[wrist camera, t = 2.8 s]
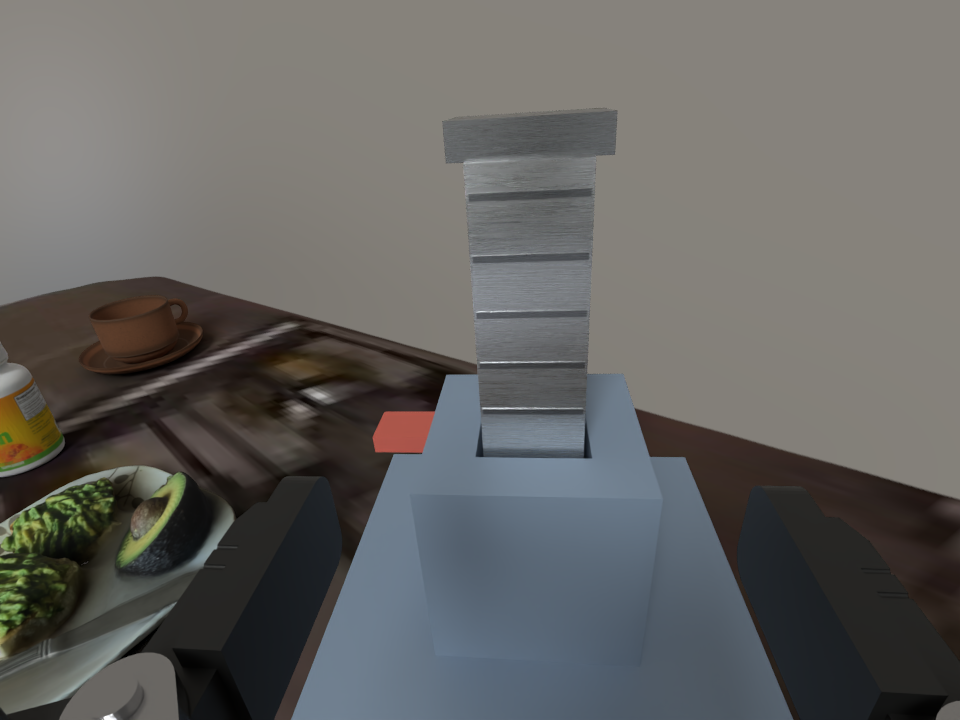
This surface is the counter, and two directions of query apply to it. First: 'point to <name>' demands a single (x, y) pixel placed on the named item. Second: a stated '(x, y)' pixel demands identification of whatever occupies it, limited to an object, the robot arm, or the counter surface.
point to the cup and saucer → (139, 335)
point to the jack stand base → (537, 584)
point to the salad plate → (96, 575)
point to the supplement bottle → (24, 422)
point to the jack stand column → (531, 270)
